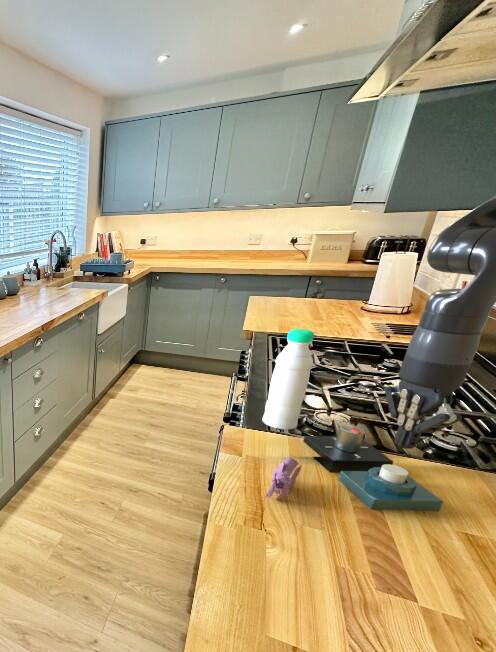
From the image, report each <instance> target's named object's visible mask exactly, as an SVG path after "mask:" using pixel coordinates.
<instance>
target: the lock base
mask: <svg viewBox="0 0 496 652" xmlns="http://www.w3.org/2000/svg"><path fill="white" fill-rule="evenodd" d="M336 438H337V435H335V436H334V435H304V437H303V440H302V442H303V443H304V444H306V446H308V447H309V448H310V449H311V450H312V451H313V452H315V453H316V454H317V456H312V458H313V459H314V460H315V461H316V462H317V463H319V464H320V465H321V467H323V468H324V469H325V470H326V471H327V472H329V473H333V474H335V473H336V474H338V473H339V474H340V472H341V471H368V470H369V469H371V468H374V467H382V465H385V464H390V465H394V460H392V459H391V458H389V457H388V456H387V455H385V454H384V453H383V452H381V451H380V450H378V449H376V448H375V447H374V446H372V445H371V444H370V443H368V442H367V441H365V440H364V439H363V440H362V443H361V446H360V449H359V451H358V452H354V453H352V452H346V451H342V450H340V449H338V448H336V447H335V442H336Z"/></svg>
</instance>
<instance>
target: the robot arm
mask: <svg viewBox="0 0 496 652" xmlns="http://www.w3.org/2000/svg"><path fill="white" fill-rule="evenodd" d="M427 250H428V251H427V254H426V260H427V263H428V265H429V267H430V268H431V269H433V270H434V271H437V272H441V273H446V274H447V273H448V274H458V275H468V276H474V277H473V279H471V281H470V282H469V283H468V284H466V286H464V287H463V288H446V289H445V288H444V289H439V290H436V291H434V292H432V293H431V294H430V295H429V296H428V298H427V300H426V301H425V305H424V307H423V310H422V313H421V316H420V319H419V322H418V324H417V327H416V328H415V331H414V332H413V334H412V336H411V338H410V341H409V344H408V347H407V348H406V352H405V355H404V358H403V360H402V363H401V366H400V369H399V372H398V377H399V379H401V380H400V381H399V383H398V384H397V385H391V386H388V385H387V386H385V388H384V393H385V398H386V401H387V407H388V411H389V414H390V417H391V419H396V420H397V421H396V424H397V425H398V428H397V431H396V433H395V436H394V441H393V442H394V445H396V446H397V447H399V448H400V449H403V450H407V449H408V450H410V449H411V450H412V449H413V448H416V446H417V445H418V442H419V440H420V438H421V435H422V433H437V432H439V431H441V430H443V429H446V428H448V427H449V426H452V425H454V424H456V423H459V422H460V421H462V419H463V416H462V414H461V413H459V412H458V413H456V412H454V410H453V409H452V407H451V405H452V403H453V402H454V399H453V393H454V392H455V391H456V390H457V389H460V388H461V387H462V386H463V384H464V381H465V379H466V377H467V375H468V372H469V370H470V367H471V365H472V363H473V360H474V357H475V356H476V353H477V351H478V348H479V344H480V340H481V336H482V333H483V330H484V328H485V325H486V323H487V321H488V319H489V316H490V313H491V311H492V309H493V307H494V305H495V304H496V195H494V196H493V197H491V198H490V199H488V200H486V201H484V202H483V203H481V204H480V205H478V206H476V207H475V208H473V209H472V210H470V211H469V212H467V213H466V214H464V215H463V216H461V217H459V218H458V219H456V220H455V221H454V222H452V223H450V224H449V225H448V226H447V227H446V228H444V229H443V230H441V232H439V234H438V235H437V236H436V237H435V238H434V239H433V241H432V243H431V244H430V246H429V247H428V249H427Z"/></svg>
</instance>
